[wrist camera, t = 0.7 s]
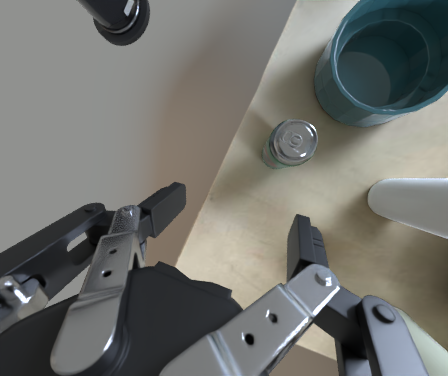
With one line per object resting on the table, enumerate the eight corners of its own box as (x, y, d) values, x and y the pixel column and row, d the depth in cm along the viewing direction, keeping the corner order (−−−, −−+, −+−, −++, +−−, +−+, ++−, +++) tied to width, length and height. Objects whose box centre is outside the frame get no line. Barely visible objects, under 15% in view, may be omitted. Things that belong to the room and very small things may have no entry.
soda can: (282, 174, 29) (306, 173, 18) (256, 161, 30) (261, 152, 18) (297, 147, 29) (331, 128, 17) (270, 134, 29) (285, 107, 17)
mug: (356, 206, 28) (435, 229, 16) (379, 169, 27) (480, 165, 15) (417, 235, 27) (547, 282, 15) (442, 198, 26) (601, 217, 14)
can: (424, 317, 28) (554, 422, 16) (400, 363, 29) (504, 493, 17) (366, 295, 29) (449, 379, 17) (345, 340, 30) (408, 448, 18)
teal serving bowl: (296, 63, 28) (308, 33, 22) (392, 3, 25) (435, -49, 19) (339, 145, 28) (364, 137, 22) (439, 94, 25) (498, 69, 19)
